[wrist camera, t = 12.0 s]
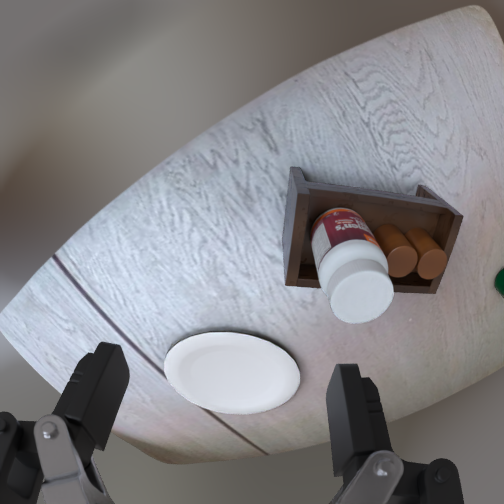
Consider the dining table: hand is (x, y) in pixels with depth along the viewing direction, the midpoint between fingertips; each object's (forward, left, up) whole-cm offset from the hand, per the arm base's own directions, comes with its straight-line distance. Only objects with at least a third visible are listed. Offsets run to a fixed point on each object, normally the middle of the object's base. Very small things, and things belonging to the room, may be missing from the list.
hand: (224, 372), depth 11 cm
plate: (+38, -2, -30) cm, 48 cm away
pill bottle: (+4, +9, -23) cm, 25 cm away
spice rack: (+5, +13, -29) cm, 33 cm away
